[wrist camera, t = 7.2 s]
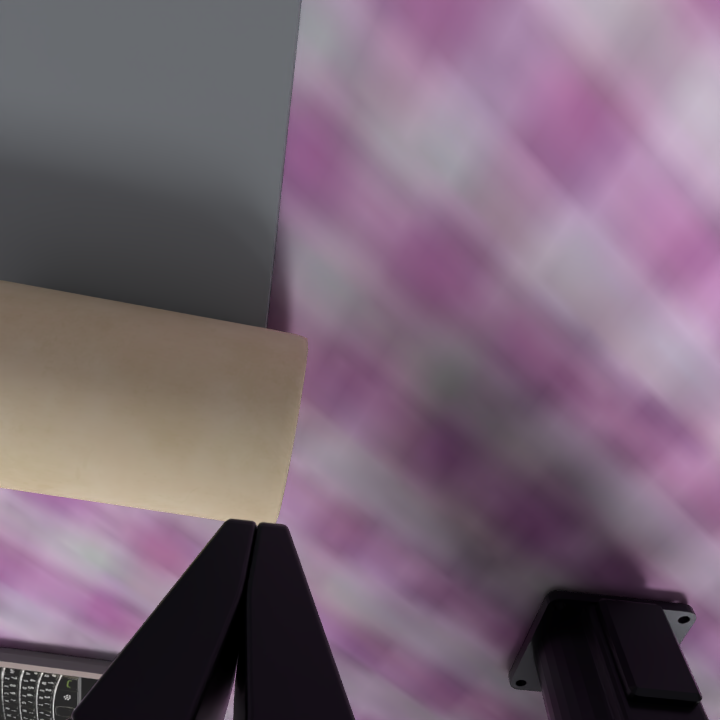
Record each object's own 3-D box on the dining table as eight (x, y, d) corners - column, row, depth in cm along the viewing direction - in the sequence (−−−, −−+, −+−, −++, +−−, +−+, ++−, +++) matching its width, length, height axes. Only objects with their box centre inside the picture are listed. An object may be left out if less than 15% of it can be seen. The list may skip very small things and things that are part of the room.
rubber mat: (252, 462, 25) (249, 477, 24) (-153, 412, 24) (-168, 426, 23) (328, -258, 14) (327, -267, 14) (-399, -418, 13) (-441, -438, 12)
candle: (271, 539, 21) (-69, 489, 20) (299, 374, 23) (-8, 320, 22) (283, 512, 16) (-172, 444, 15) (317, 304, 18) (-80, 229, 17)
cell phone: (-18, 632, 31) (-33, 660, 30) (225, 664, 32) (220, 693, 31) (-9, 708, 34) (-23, 736, 33) (211, 734, 35) (206, 763, 34)
